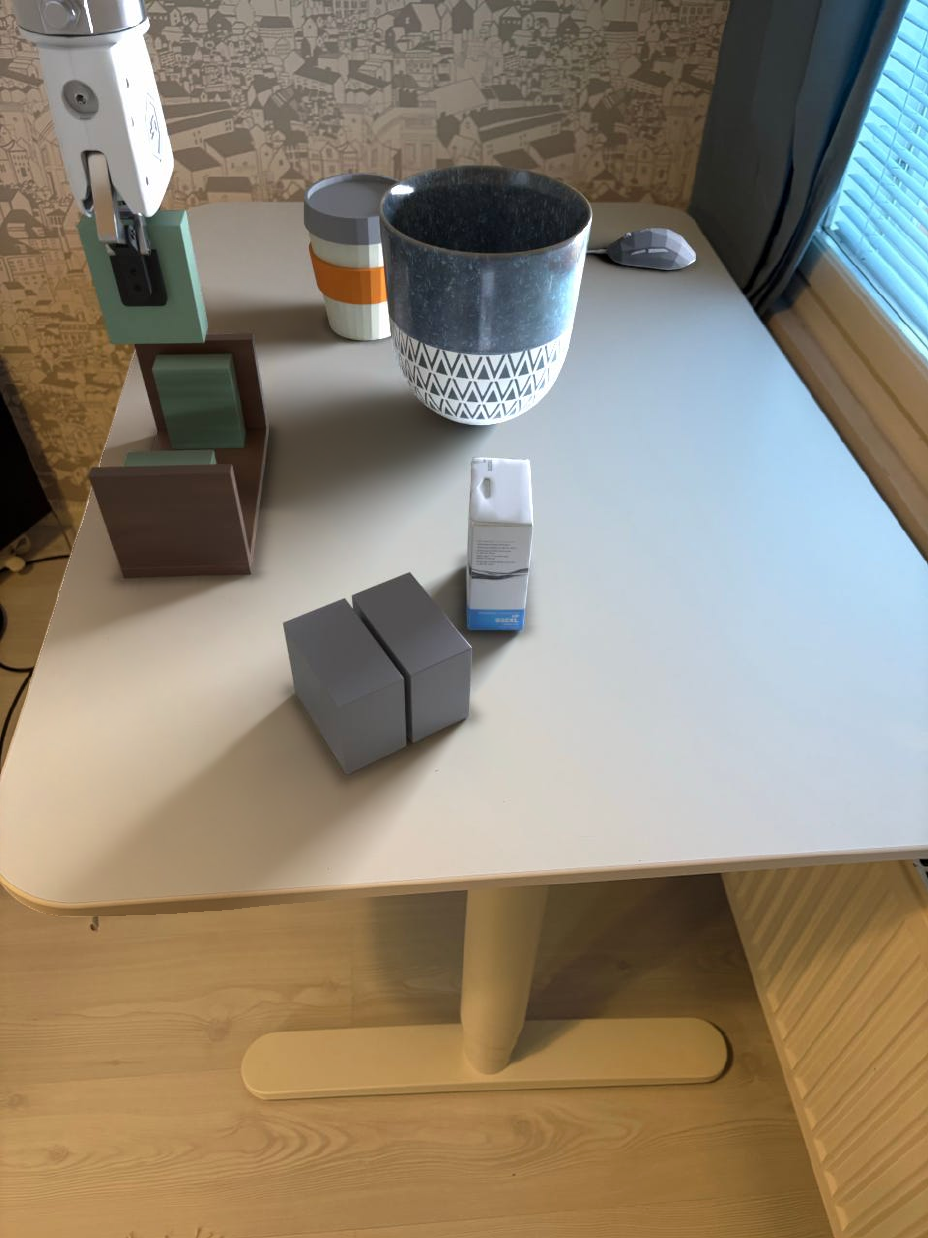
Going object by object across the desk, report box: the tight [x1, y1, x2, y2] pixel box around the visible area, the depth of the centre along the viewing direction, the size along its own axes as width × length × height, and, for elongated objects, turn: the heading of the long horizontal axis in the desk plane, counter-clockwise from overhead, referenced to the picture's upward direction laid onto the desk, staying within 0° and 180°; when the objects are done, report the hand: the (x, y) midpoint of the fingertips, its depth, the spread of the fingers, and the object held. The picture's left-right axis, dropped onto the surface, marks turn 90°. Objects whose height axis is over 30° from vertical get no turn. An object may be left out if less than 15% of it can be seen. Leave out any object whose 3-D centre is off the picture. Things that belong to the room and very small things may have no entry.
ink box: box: [466, 456, 534, 631], centre depth 75 cm, size 8×5×12 cm, turn 179°
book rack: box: [87, 332, 270, 579], centre depth 83 cm, size 21×11×11 cm, turn 4°
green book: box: [76, 209, 209, 345], centre depth 67 cm, size 3×7×9 cm, turn 94°
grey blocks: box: [282, 571, 473, 776], centre depth 68 cm, size 10×9×8 cm
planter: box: [378, 164, 593, 426], centre depth 91 cm, size 20×20×21 cm
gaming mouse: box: [586, 227, 697, 271], centre depth 122 cm, size 6×15×4 cm, turn 81°
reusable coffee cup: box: [303, 172, 401, 341], centre depth 105 cm, size 13×13×15 cm
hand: (149, 290), depth 67 cm, fingers closed on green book, 2 cm apart
